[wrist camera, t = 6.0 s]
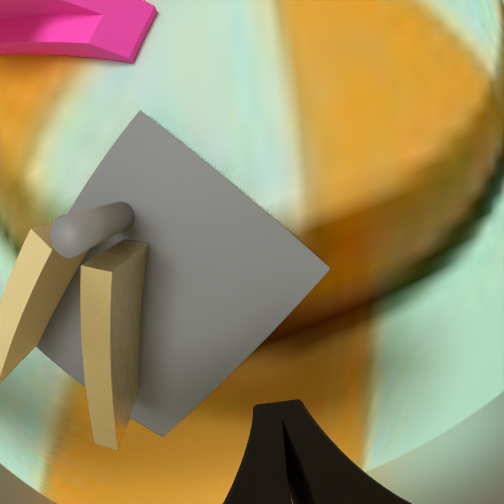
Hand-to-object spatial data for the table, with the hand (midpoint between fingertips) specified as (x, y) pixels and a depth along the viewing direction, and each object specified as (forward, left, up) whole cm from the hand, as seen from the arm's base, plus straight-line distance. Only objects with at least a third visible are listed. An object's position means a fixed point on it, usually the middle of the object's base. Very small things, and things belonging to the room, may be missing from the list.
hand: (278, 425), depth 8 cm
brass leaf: (-4, +5, -7) cm, 10 cm away
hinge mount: (-3, +5, -8) cm, 10 cm away
